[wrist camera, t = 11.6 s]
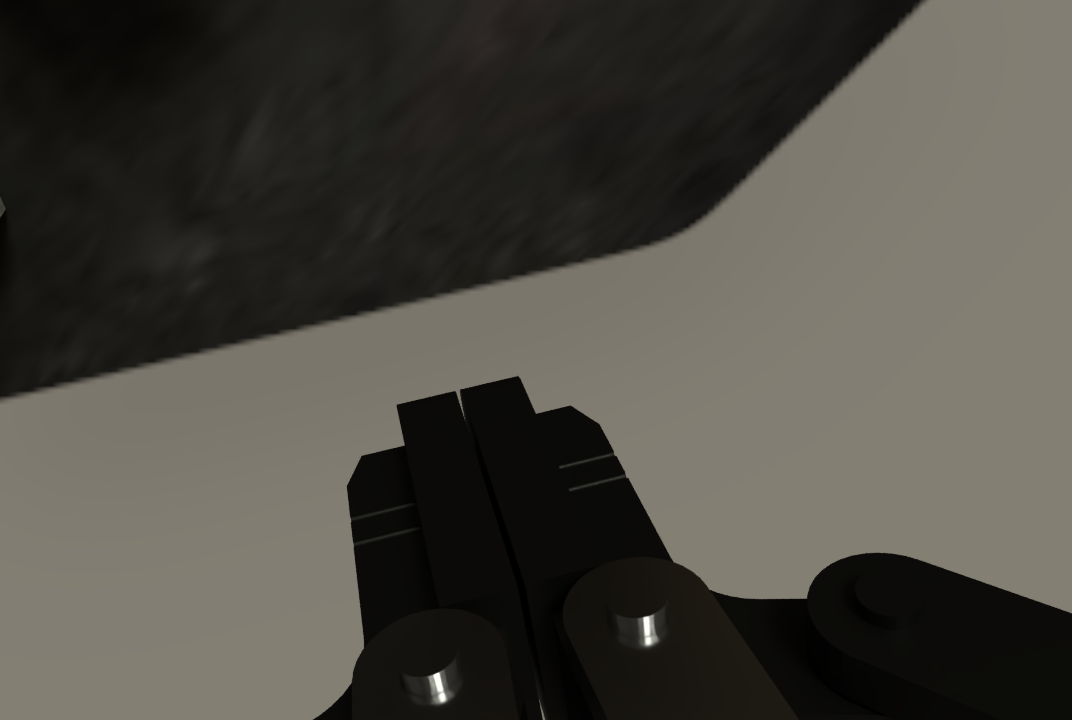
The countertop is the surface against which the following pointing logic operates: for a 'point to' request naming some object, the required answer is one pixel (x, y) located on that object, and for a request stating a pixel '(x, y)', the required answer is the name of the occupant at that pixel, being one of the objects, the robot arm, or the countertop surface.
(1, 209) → the tray
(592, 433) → the robot arm
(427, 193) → the countertop surface
